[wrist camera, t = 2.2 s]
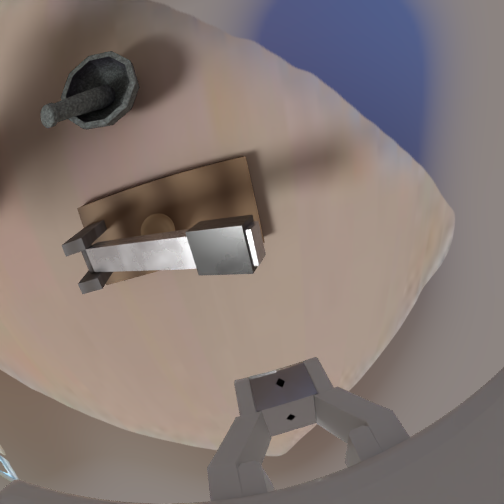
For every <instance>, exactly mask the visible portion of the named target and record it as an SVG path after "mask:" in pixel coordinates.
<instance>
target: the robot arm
mask: <svg viewBox="0 0 504 504" xmlns="http://www.w3.org/2000/svg"><path fill="white" fill-rule="evenodd" d="M234 385H235V391H236V396H237V402H238V407H239V413H240V416H239V417H236V418H235V420H234V422H233V424H232V425H231V427H230V429H229V431H228V433H227V434H226V436H225V438H224V440H223V442H222V443H221V445H220V447H219V449H218V450H217V452H216V454H215V455H214V457H213V459H212V461H211V462H210V464H209V466H208V468H207V470H208V480H209V490H210V498H211V501H208V502H196V503H174V504H504V367H503V368H502V369H501V371H499V372H498V373H497V374H496V375H495V376H494V377H493V378H492V379H491V380H489V381H488V382H487V383H486V384H485V385H484V386H483V387H481V388H480V389H479V390H478V391H477V392H475V393H474V394H473V395H472V396H470V397H469V398H468V399H467V400H465V401H464V402H463V403H461V404H460V405H459V406H457V407H456V408H455V409H453V410H452V411H450V412H449V413H447V414H446V415H445V416H443V417H442V418H440V419H439V420H437V421H436V422H434V423H433V424H432V425H430V426H428V427H426V428H425V429H423V430H421V431H420V432H419V433H417V434H415V435H413V436H412V437H410V436H409V435H408V434H407V432H406V430H405V429H404V427H403V426H402V424H401V423H400V421H399V420H398V418H397V417H396V415H395V414H394V412H393V411H392V410H390V409H388V408H385V407H383V406H380V405H378V404H376V403H373V402H371V401H369V400H366V399H364V398H362V397H360V396H357V395H355V394H353V393H350V392H348V391H346V390H344V389H342V388H340V387H335V388H334V387H333V385H332V384H331V382H330V380H329V378H328V376H327V374H326V373H325V371H324V369H323V367H322V365H321V363H320V362H319V360H318V358H317V357H314V358H311V359H308V360H305V361H303V362H299V363H296V364H293V365H290V366H287V367H283V368H280V369H277V370H275V371H271V372H267V373H263V374H259V375H255V376H251V377H247V378H243V379H239V380H235V382H234ZM314 423H317V424H318V425H320V426H321V427H323V428H324V429H326V430H327V431H329V432H330V433H332V434H333V435H335V436H336V437H338V438H340V439H341V440H343V441H344V442H346V443H348V444H347V451H346V458H345V463H346V465H347V468H345V469H343V470H340V471H337V472H335V473H332V474H329V475H326V476H324V477H321V478H318V479H315V480H312V481H308V482H305V483H302V484H298V485H295V486H291V487H287V488H284V489H279V490H274V487H273V484H272V482H271V481H270V479H269V477H268V476H267V474H266V472H265V471H264V469H263V467H262V466H261V465H262V462H263V459H264V457H265V454H266V451H267V449H268V446H269V443H270V441H271V436H275V435H278V434H282V433H285V432H288V431H291V430H294V429H298V428H301V427H305V426H308V425H311V424H314ZM0 504H149V503H132V502H120V501H119V502H118V501H110V500H102V499H96V498H89V497H84V496H78V495H73V494H69V493H64V492H60V491H56V490H52V489H48V488H45V487H41V486H38V485H35V484H32V483H28V482H26V481H22V480H14V481H12V482H11V483H10V484H8V485H7V486H6V487H5V488H4V489H3V490H2V491H1V492H0ZM150 504H152V503H150Z"/></svg>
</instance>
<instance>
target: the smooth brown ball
mask: <svg viewBox="0 0 504 504" xmlns="http://www.w3.org/2000/svg"><path fill="white" fill-rule="evenodd" d="M171 231H175V226H174V223H173V221H172V220H171V219H170V218H169V217H168V216H166V215H164V214H160V213H157V214H152V215H150V216H149V217H147V218H146V219H145V220H144V222H143V224H142V226H141V236H142V235H149V234H156V233H164V232H171Z"/></svg>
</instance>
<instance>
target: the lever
mask: <svg viewBox="0 0 504 504" xmlns="http://www.w3.org/2000/svg"><path fill="white" fill-rule="evenodd" d="M86 252H87V255H88V257H89V260H90V262H91V265H92V267H93V269H94V272H117V271H148V270H176V269H197V271H198V274H199V275H227V274H253V273H254V271H255V270H256V268H257V266H259V265H260V263H261V262H262V260H263V258H264V257H265V255H266V253H265V249H264V244H263V239H262V235H261V230H260V225H259V221H254V219H253V215H244V216H236V217H228V218H220V219H213V220H205V221H200V222H198V223H197V224H196V225H194V226H193V227H192V228H190V229H186V230H178V231H171V232H164V233H156V234H149V235H142V236H135V237H129V238H122V239H115V240H109V241H102V242H97V243H95V244H93V245H92V246H90V247H88V248H87V249H86Z"/></svg>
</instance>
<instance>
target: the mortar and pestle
mask: <svg viewBox="0 0 504 504" xmlns="http://www.w3.org/2000/svg"><path fill="white" fill-rule="evenodd" d="M138 89H139V84H138V81H137V78H136V74H135V71H134V67H133V64H132V63H131V61H130V60H128V59H126V58H124V57H122V56H120V55H118V54H116V53H114V52H112V51H109V52H105V53H100V54H96V55H92V56H88V57H87V58H86V59H85V60H84V61H82V62H81V63H80V64H79V65H78V66H77V67H76V68H75V69H74V70H73V71H72V72H71V73H70V74H69V76H68V79H67V81H66V84H65V87H64V90H63V93H62V96H61V99H62V100H61V101H59V102H57V103H49V104H46V105H44V106H43V108H42V110H41V121H42V124H43V125H44V126H45V127H46V128H50V127H53V126H55V125H56V123H57V122H60V121H63V120H66V119H69V120H70V121H72V122H73V123H75V124H77V125H78V126H80V127H81V128H83V129H92V128H98V127H103V126H110V125H114V124H115V123H116V122H117V121H118V120H119V119H120V118H122V117H123V116H124V115H125V114H126V113H127V112H129V111H130V110H131V109H132V106H133V103H134V100H135V98H136V95H137V92H138Z"/></svg>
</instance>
